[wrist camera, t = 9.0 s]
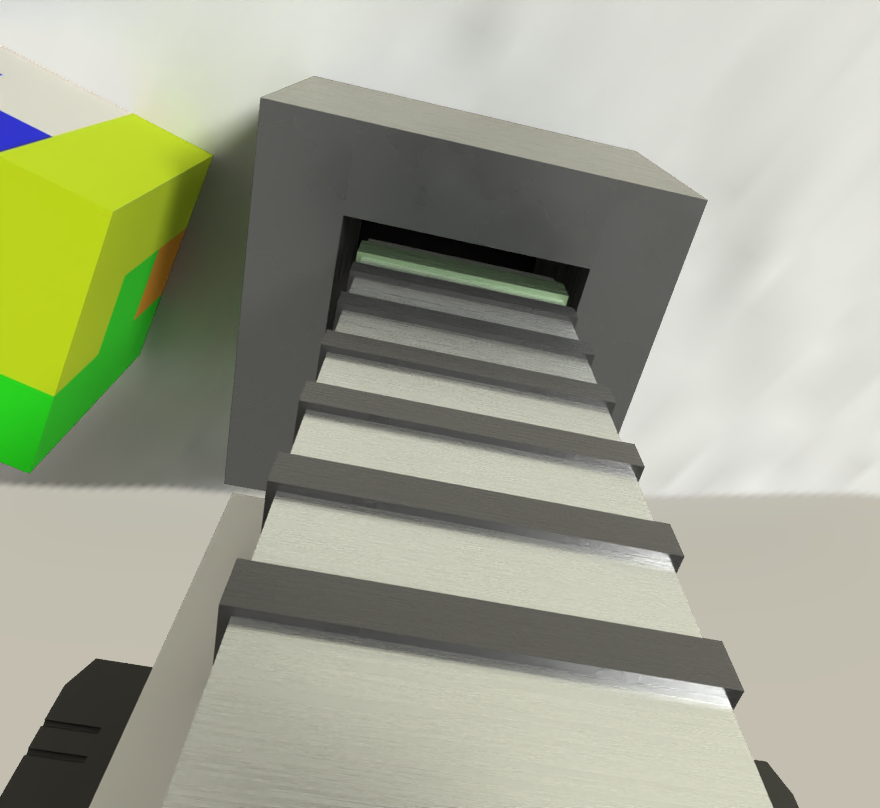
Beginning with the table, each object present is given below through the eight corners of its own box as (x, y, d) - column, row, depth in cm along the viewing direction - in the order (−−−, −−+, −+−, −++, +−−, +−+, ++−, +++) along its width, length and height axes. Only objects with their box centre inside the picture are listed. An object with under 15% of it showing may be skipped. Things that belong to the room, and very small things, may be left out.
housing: (276, 375, 34) (199, 534, 23) (313, 76, 28) (232, 108, 17) (546, 427, 35) (588, 602, 25) (636, 151, 29) (743, 224, 19)
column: (335, 406, 26) (83, 1269, 8) (364, 232, 23) (73, 972, 5) (508, 440, 26) (638, 1315, 8) (559, 274, 23) (914, 1073, 6)
